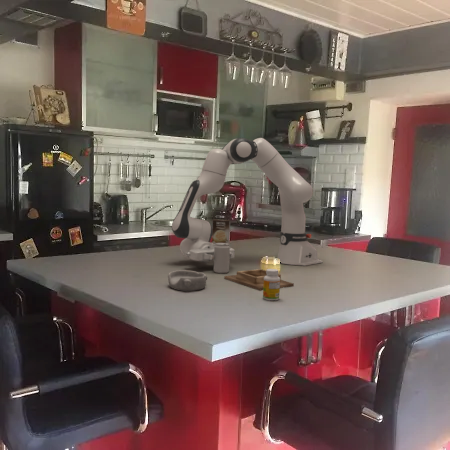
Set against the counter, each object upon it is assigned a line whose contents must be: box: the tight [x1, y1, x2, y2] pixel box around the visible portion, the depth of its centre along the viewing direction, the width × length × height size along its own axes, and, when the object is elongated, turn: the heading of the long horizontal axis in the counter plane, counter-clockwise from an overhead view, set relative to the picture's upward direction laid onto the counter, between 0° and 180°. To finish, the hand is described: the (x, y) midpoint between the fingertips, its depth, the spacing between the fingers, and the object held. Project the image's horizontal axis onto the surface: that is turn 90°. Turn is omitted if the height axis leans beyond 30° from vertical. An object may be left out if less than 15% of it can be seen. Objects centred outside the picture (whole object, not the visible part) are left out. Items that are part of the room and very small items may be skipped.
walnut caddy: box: [223, 269, 295, 291], centre depth 193 cm, size 16×22×4 cm
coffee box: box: [211, 218, 231, 245], centre depth 270 cm, size 9×6×16 cm
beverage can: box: [213, 243, 231, 274], centre depth 210 cm, size 6×6×12 cm
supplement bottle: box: [262, 268, 281, 301], centre depth 168 cm, size 5×5×10 cm
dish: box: [167, 269, 208, 292], centre depth 181 cm, size 14×14×5 cm
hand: (222, 256), depth 209 cm, fingers open, 8 cm apart
